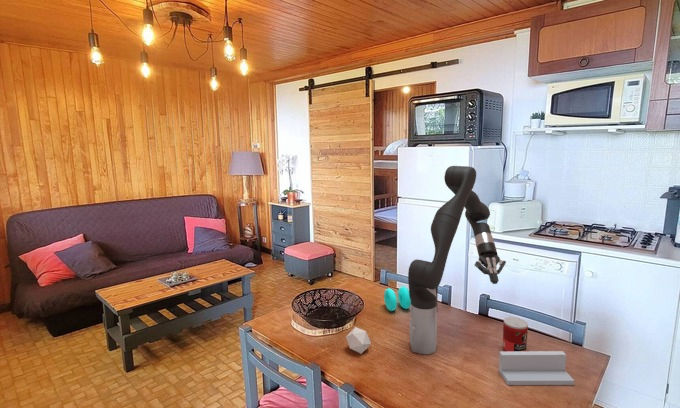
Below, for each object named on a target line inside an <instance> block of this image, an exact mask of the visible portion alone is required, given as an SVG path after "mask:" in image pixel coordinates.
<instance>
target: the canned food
mask: <svg viewBox="0 0 680 408" xmlns="http://www.w3.org/2000/svg"><path fill="white" fill-rule="evenodd" d="M502 325H503V328H502V349H503V350H504V351H503V352H507V351H527V349H528V348H527V346H528V331H529V330H528V329H529V325H528V322H527V321H526V320H525V319H523V318H520V317H518V316H517V317H516V316H507V317H505V318H504V319H503V324H502Z"/></svg>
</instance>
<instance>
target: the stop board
mask: <svg viewBox="0 0 680 408" xmlns="http://www.w3.org/2000/svg"><path fill="white" fill-rule="evenodd" d="M498 355H499V360H498V362H499V363H498V372H499V374H500V376H501V377H502V378H503V381H504V382H505V383H506V385H507V386H575V379H574V378H572V376H571V375H570V374H569V373H568V372H567V371H566V363H567V354H566V353H565V352H564V351H563V350H558V351H557V350H548V351H547V350H543V351H540V350H539V351H538V350H537V351H536V350H535V351H534V350H533V351H531V350H530V351H529V350H528V351H527V350H526V351H507V352H505V351H499V354H498Z"/></svg>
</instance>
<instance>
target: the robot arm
mask: <svg viewBox="0 0 680 408" xmlns="http://www.w3.org/2000/svg"><path fill="white" fill-rule="evenodd" d="M443 178H444V183H445V185H446V187H447V188H448V189H449V191H451V192H452V193H453V194H454V196H452V197H451V198H450V199H449V200H448V201H446V203H444V204H442V205H441V207H439V208H438V209H437V211H436V212H435V214H434V217H433V219H432V222H431V225H430V233H431V237H432V242H433V245H434V256H433V259H432V261H427V260H424V259H423V260H422V259H418V258H416V259H413V261H412V262H410V265H409V266H408V271H407V272H408V273H407V274H408V275H407V277H408V278H407V279H408V281H407V282H408V290H409V297H410V300H411V305H410V320H409V345H410V350H411V352H412V353H417V354H420V355H430V354H431V355H432V354H433V353H435V352H436V351H437V335H438V334H437V322H438V321H437V317H438V314H437V313H438V298H436V296H435V295H434V294H432V293H431V292H430V291H429V290H428V289H436V288H437V287H438V288H439V286H440V284H441V282H442V279H443V275H444V272H445V269H446V264H447V260H448V256H449V253H450V249H451V247H452V243H453V240H454V238H455V235H456V232H457V230H458V228H459V224H460V222H461V219H462V215H463V211H464V209H465V213H464V216H465V218H466V220H467V221H468V223H469V224H470V227H471V229H472V231H473V236H474V241H475V247H476V251H477V254H478V260H477V261H475V263H474V267H475V268H477V269H478V270H479V271H480V272H481V273H483V275H488V277H489V281H490V283H491V284H492V285H498V282H499V277H498V275H499V274H501V272H502V271H503V269H504V267H505V266H506V263H507V261H506V260H502V259H501V258H500V256H499V255H498V250H497V248H496V245H495V239H494V237H493V235H492V232H491V229H490V225H489V224H488V223H487V222H484V221H486V220H488V219H489V218H490V215H491V211H490V208H489V207H488V206H487V204H485V203H484V202H482V201H481V200H480V198H479V195H478V194H477V193H476V192H475V191H474V190H473V189H474V186H475V183H476V179H477V170H476V169H475V168H474V167H473V166H467V165H465V166H463V165H462V166H461V165H450V166H449V167H447V168H446V170H445V172H444V176H443ZM482 221H483V222H482ZM498 265H499V267H498ZM497 267H498V269H497ZM427 288H428V289H427Z"/></svg>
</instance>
